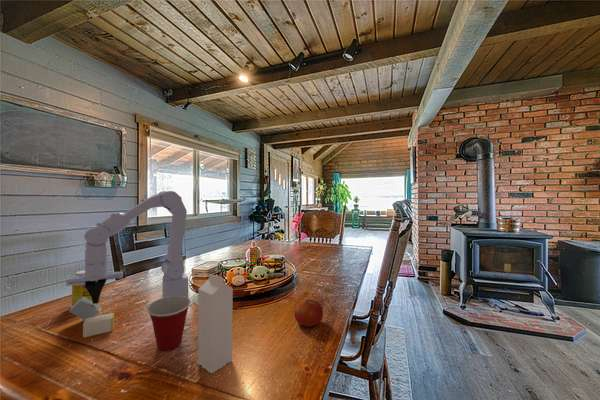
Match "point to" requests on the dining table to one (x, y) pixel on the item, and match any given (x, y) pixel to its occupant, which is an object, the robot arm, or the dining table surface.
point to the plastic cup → (169, 320)
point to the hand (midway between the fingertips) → (95, 302)
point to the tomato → (308, 313)
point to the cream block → (98, 325)
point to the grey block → (85, 308)
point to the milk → (214, 324)
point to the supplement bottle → (79, 290)
